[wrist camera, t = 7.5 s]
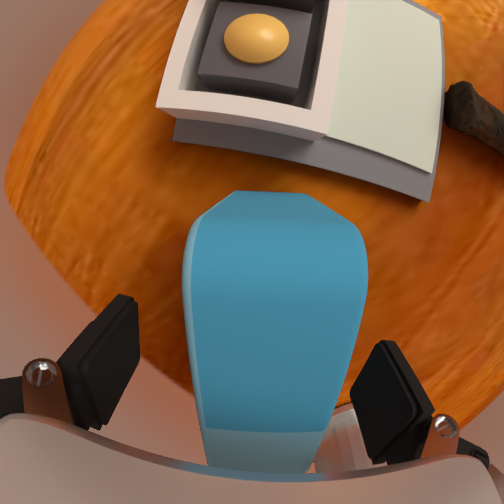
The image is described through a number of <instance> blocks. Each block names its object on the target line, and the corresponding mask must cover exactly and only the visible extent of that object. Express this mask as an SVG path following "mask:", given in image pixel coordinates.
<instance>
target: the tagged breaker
mask: <svg viewBox="0 0 504 504" xmlns="http://www.w3.org/2000/svg"><path fill="white" fill-rule="evenodd" d="M311 18H312V14H310V13H305V12H301V11H296V10H291V9H285V8H279V7H273V6H266V5H258V4H248V3H236V2H219V5H218V8H217V11H216V14H215V17H214V20H213V23H212V26H211V29H210V32H209V35H208V38H207V41H206V45H205V48H204V51H203V55H202V58H201V62H200V66H199V69H198V73H197V74H198V75H199V77H200V78H201V79H202V81H203V82H204V83H205V85H206V86H207V87H208V89H210V90H220V91H228V92H236V93H243V94H249V95H256V96H261V97H267V98H272V99H277V100H282V101H287V102H293V100H294V97H295V95H296V92H297V90H298V86H299V81H300V76H301V71H302V66H303V61H304V56H305V50H306V45H307V40H308V35H309V29H310V24H311Z"/></svg>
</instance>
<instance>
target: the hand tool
mask: <svg viewBox="0 0 504 504" xmlns="http://www.w3.org/2000/svg"><path fill="white" fill-rule="evenodd" d="M444 116H445V122H446V124H447V126H449V127H450V128H457V129H458V130H460V131H461V132H464V133H465V134H467V135H473V136H475V137H476V138H478V139H479V140H481V141H482V142H483V143H484V144H486V145H488V146H489V147H491V148H493V149H495V150H497V151H498V152H499V153H500V155H503V156H504V114H503V113H502V112H501V111H500V110H498V109H497V108H496V107H494V106H493V105H491V104H490V103H489V102H488V101H486V99H484V98H483V97H481V96H480V95H478V94H477V92H476V91H475V90H474V88H473V86H472V84H471V83H469V82H465V81H461V82H458V83H456V84H454V85H453V84H452V85H451V86H450V87H449V90H448V91H447V92H446V94H445V105H444Z"/></svg>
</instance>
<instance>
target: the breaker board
mask: <svg viewBox="0 0 504 504" xmlns="http://www.w3.org/2000/svg"><path fill="white" fill-rule="evenodd" d="M219 2H227V0H189V2H188V4H187V6H186V9H185V12H184V14H183V17H182V19H181V22H180V25H179V28H178V30H177V33H176V36H175V39H174V42H173V45H172V48H171V52H170V55H169V58H168V61H167V65H166V68H165V72H164V75H163V79H162V83H161V87H160V90H159V94H158V99H157V103H156V108H158V109H160V110H162V111H164V112H166V113H168V114H170V115H172V116H173V117H175V118H176V123H175V128H174V133H173V138H172V141H174V142H180V143H188V144H196V145H203V146H210V147H217V148H224V149H230V150H236V151H242V152H247V153H253V154H258V155H263V156H268V157H273V158H278V159H282V160H287V161H291V162H296V163H300V164H304V165H308V166H312V167H316V168H320V169H324V170H328V171H332V172H335V173H339V174H342V175H346V176H349V177H353V178H356V179H360V180H363V181H366V182H369V183H373V184H376V185H379V186H382V187H385V188H388V189H391V190H394V191H397V192H400V193H403V194H405V195H408V196H411V197H414V198H416V199H419V200H422V201H425V202H429V201H430V196H431V192H432V187H433V182H434V177H435V172H436V166H437V160H438V154H439V147H440V140H441V131H442V121H443V109H444V89H445V58H444V39H443V27H442V18H441V16H439V15H437V14H436V13H434V12H432V11H431V10H429V9H427V8H425V7H423V6H421V5H420V4H418V3H416V2H414V1H412V0H315V2H314V5H313V9H312V12H311V14H312V18H311V24H310V29H309V35H308V40H307V45H306V50H305V56H304V61H303V66H302V71H301V76H300V81H299V86H298V90H297V92H296V95H295V97H294V100H293V102H287V101H282V100H277V99H272V98H267V97H261V96H256V95H249V94H243V93H236V92H228V91H220V90H210V89H208V87H207V86H206V85H205V83H204V82H203V81H202V79H201V78H200V77H199V75H198V74H197V73H198V69H199V66H200V62H201V58H202V55H203V51H204V48H205V45H206V41H207V38H208V35H209V32H210V29H211V26H212V23H213V20H214V17H215V14H216V11H217V8H218V5H219Z"/></svg>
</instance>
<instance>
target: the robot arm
mask: <svg viewBox="0 0 504 504" xmlns="http://www.w3.org/2000/svg"><path fill="white" fill-rule="evenodd" d="M139 360H140V345H139V324H138V303H137V302H134V298H133V297H130V296H126V295H122V294H118V295H117V296H116V297H115V298H114V299H113V300H112V301H111V302H110V303H109V305H108V306H107V307H106V308H105V309H104V310H103V311H102V312H101V313H100V314H99V315H98V317H97V318H96V319H95V320H94V321H92V322H90V323H89V325H88V326H87V327H86V328H85V329H84V330H83V331H82V332H81V334H80V335H79V336H78V337H77V338H76V339H75V340H74V342H73V343H72V344H71V345H70V346H69V348H68V349H67V350H66V351H65V352H64V353H63V355H62V356H61V357H60V358H59V359H58V361H57V362H54V361H52V360H50V359H47V358H38V359H34V360H32V361H30V362H29V363H28V364H27V365H26V366H25V367H24V369H23V372H22V376H19V377H13V378H7V379H0V504H504V474H503V473H501V472H500V471H499V470H498V469H497V468H496V467H495V466H494V465H493V464H490V465H489V456H488V453H487V452H486V451H485V450H483V449H482V448H480V447H478V446H476V445H474V444H472V443H470V442H468V441H466V440H464V439H462V438H460V437H459V432H460V429H459V426H458V424H457V422H456V421H455V420H454V419H453V418H452V417H450V416H449V415H446V414H438V415H436V416H435V417H432V414H433V412H434V411H435V409H434V407H433V405H432V403H431V402H430V400H429V398H428V396H427V394H426V393H425V391H424V389H423V387H422V386H421V384H420V382H419V380H418V379H417V377H416V375H415V373H414V372H413V370H412V368H411V367H410V365H409V363H408V362H407V360H406V359H405V357H404V355H403V354H402V352H401V350H400V349H399V347H398V346H397V344H396V343H395V341H388V340H381V341H380V342H379V343H377V344H376V345H375V346H374V348H373V350H372V352H371V354H370V356H369V358H368V359H367V361H366V363H365V365H364V367H363V369H362V370H361V372H360V374H359V376H358V377H357V379H356V381H355V382H354V384H353V386H352V387H351V390H350V398H351V401H352V403H350V404H346V405H343V406H341V407H338V408H336V409H334V411H333V413H332V416H331V419H330V421H329V424H328V426H327V429H326V431H325V434H324V436H323V439H322V441H321V443H320V446H319V448H318V450H317V452H316V455H315V457H314V459H313V462H315V469H316V473H311V474H282V473H261V472H249V471H239V470H231V469H224V468H217V467H211V466H205V465H200V464H194V463H190V462H185V461H181V460H176V459H172V458H168V457H164V456H161V455H157V454H153V453H150V452H147V451H144V450H140V449H137V448H134V447H131V446H128V445H125V444H122V443H119V442H116V441H113V440H111V439H108V438H106V437H103V436H100V435H98V434H95V433H93V432H90V431H88V429H89V427H92V428H94V429H97V430H100V429H101V427H102V425H103V424H104V425H107V424H108V422H109V420H110V418H111V416H112V414H113V412H114V410H115V408H116V406H117V404H118V402H119V400H120V398H121V396H122V394H123V392H124V390H125V388H126V386H127V384H128V382H129V380H130V378H131V377H132V375H133V373H134V371H135V369H136V367H137V365H138V363H139Z"/></svg>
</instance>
